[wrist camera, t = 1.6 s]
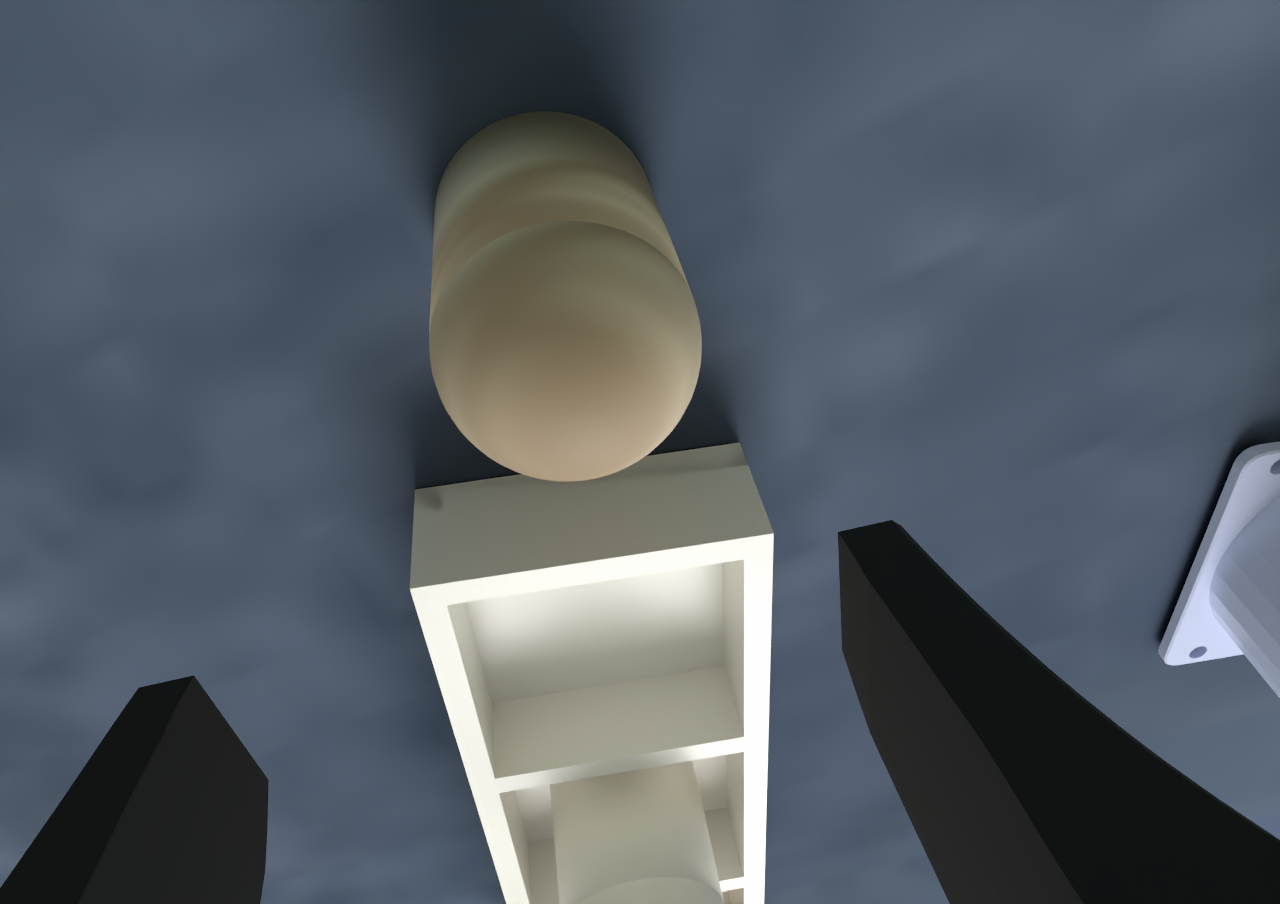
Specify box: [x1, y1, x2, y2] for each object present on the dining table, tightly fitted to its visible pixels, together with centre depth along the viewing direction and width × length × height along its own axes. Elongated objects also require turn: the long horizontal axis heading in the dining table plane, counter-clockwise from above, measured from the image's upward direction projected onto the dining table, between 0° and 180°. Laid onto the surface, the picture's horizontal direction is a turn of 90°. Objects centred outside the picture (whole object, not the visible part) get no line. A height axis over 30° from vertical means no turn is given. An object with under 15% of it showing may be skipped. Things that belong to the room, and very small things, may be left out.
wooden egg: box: [429, 111, 702, 481], centre depth 15 cm, size 4×4×6 cm
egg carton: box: [410, 443, 774, 904], centre depth 25 cm, size 7×20×7 cm, turn 4°
